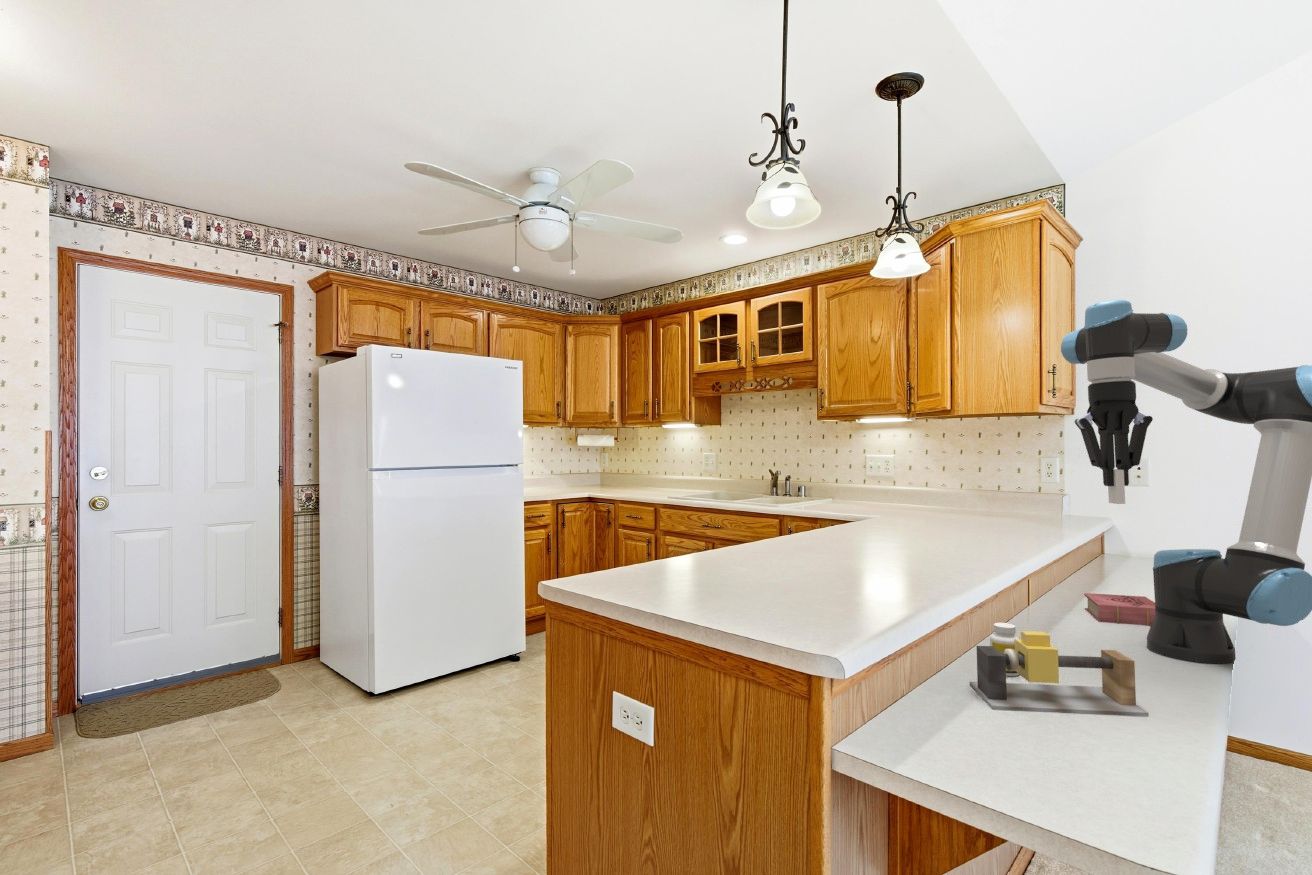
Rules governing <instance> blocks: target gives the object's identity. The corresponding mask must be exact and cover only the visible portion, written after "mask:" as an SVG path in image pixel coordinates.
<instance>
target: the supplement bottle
mask: <svg viewBox="0 0 1312 875" xmlns="http://www.w3.org/2000/svg"><path fill="white" fill-rule="evenodd" d="M1016 629H1017V628H1016V625H1014V624H1012V623H1007V622H995V623H993V632H994V633H992V634H990V637H989V646H994V647H995V648H996V649H997V650H998V651H1000V652H1001V653H1002V654H1004V650H1005V649H1014V650H1015V643H1014V639H1020V638H1019V637H1018V636H1017V635H1015V634H1016V633H1017V632H1016ZM1019 676H1021V675H1020V674H1019V673H1017V672H1016V671H1013V670H1008V669H1007V668H1006V677H1019Z"/></svg>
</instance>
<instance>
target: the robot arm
mask: <svg viewBox="0 0 1312 875" xmlns="http://www.w3.org/2000/svg"><path fill="white" fill-rule="evenodd" d="M1187 337H1188V326H1187V322H1186V321H1185V320H1184V319H1183V318H1182V317H1180V316H1179V315H1176V314H1172V313H1171V314H1170V313H1164V312H1159V313H1146V312H1145V313H1135V312H1134V310H1133V307H1132V303H1131V302H1130V301H1129V300H1126V299H1125V300H1124V299H1116V300H1115V299H1114V300H1106V301H1101V302H1097V303H1093V304H1090V305H1089V306H1088V307H1086V308H1085V311H1084V326H1083V327H1082V328H1079V329H1077V330H1073V331H1071V332H1069V333H1067V334H1066V335H1064V337H1063V338H1062V341H1061V343H1060V352H1061V355H1062V357H1063V358H1064V360H1065V361H1067V362H1068V363H1070V364H1073V365H1078V364H1080V365H1085V364H1086V370H1087V381H1088V382H1091V383H1090V384H1089V385H1088V386H1087V393H1088V394H1087V395H1088V396H1087V397H1088V404H1089V406H1088V409H1087V410H1086V411H1087V412H1086V414H1085V415H1084V416H1082V417H1080V418H1076V419H1075V420H1074V424H1075V425H1076V427H1077V428H1078V429H1079V431H1080V433H1081V436H1082V439H1083V442H1084V446H1085V449H1086V451H1087V455H1088V458H1089V462H1090V464H1091V466H1093V467H1097V468H1099V469H1100V470H1102V480H1103V483H1102V484H1103V486H1104V487H1108V488H1107V489H1108V491H1107V492H1108V493H1107V494H1108V504H1116V505H1125V504H1126V490H1125V489H1126V488H1125V487H1128V486H1129V484H1130V482H1129V481H1130V478H1129V475H1130V474H1129V470H1131V469H1132V468H1133V467H1137V466H1139V465H1140V463H1141V459H1142V454H1143V449H1144V446H1145V440H1146V436H1147V431H1148V428H1149V426H1150V425H1151V423H1152V422H1153V420H1154V419H1153V417H1152V415H1145V414H1143V413H1142V412H1140V409H1139V408H1138V405H1137V403H1136V400H1137V390H1136V389H1137V388H1136V386H1137V385H1136V382H1138V383H1141V384H1142V385H1145V386H1148V387H1149V388H1152V389H1155V390H1156V391H1157V390H1158V391H1160V392H1163V393H1165V394H1167V395H1169V396H1172V397H1174V398H1177V399H1180V400H1181V401H1182V403H1183V404H1184V405H1185V406H1186V407H1187V408H1188V409H1189V408H1190V409H1192V410H1194V411H1196V412H1199V413H1202V414H1205V415H1207V416H1211V417H1214V418H1217V419H1221V420H1225V421H1226V422H1227V421H1229V422H1233V423H1238V424H1244V425H1253V428H1254V429H1255V430H1257V431H1258V433H1259V434H1260V435H1261V436H1260V440H1259V444H1258V449H1257V454H1256V457H1255V458H1256V459H1255V463H1254V467H1253V468H1254V469H1253V473H1252V477H1251V481H1250V482H1251V483H1250V486H1249V491H1248V496H1247V501H1246V506H1245V509H1244V516H1243V519H1242V523H1241V529H1240V533H1239V538H1238V542H1236V543H1235V544H1233V545H1230V546H1228V547H1227V548H1226V552H1225V557H1224V558H1223V557H1222V556H1223V555H1222V554H1221V551H1220V550H1219V549H1212V548H1209V549H1208V548H1203V549H1201V548H1199V549H1198V548H1196V549H1195V548H1192V549H1191V548H1190V549H1189V548H1188V549H1185V548H1183V549H1181V548H1180V549H1163V550H1159V551H1157V552H1156V553H1155V554H1154V556H1153V567H1152V571H1153V572H1152V573H1153V574H1152V575H1153V589H1154V590H1153V591H1154V602H1155V617H1154V619H1153V622H1152V624H1151V626H1150V627H1149V629H1148V632H1147V635H1146V648H1148V650H1150V651H1152V652H1154V653H1156V654H1159V655H1163V656H1165V657H1171V658H1173V659H1178V660H1183V661H1184V660H1185V661H1190V662H1197V663H1207V664H1226V663H1227V664H1229V663H1233V662H1235V661H1236V649H1235V646H1234V643H1233V640H1232V639H1231V636H1230V635H1229V632H1228V630H1227V627H1226V625H1225V623H1224V622H1225V621H1224V615H1228V616H1232V617H1235V618H1236V617H1237V618H1241V619H1244V620H1250V621H1253V622H1255V623H1259V624H1263V625H1264V624H1265V625H1267V624H1269V625H1272V626H1273V625H1274V626H1277V627H1278V626H1279V627H1289V626H1293V625H1296V624H1298V623H1299V622H1300V621H1303V620H1305V619H1306V618H1307V617H1308V616H1309V615H1310V614H1311V612H1312V574H1310V572H1308V571H1306V570H1305V567H1306V563H1305V562H1304V560H1303V559H1302V558H1301V557H1300V556H1299V555H1298V553H1297V552H1298V547H1299V543H1300V542H1299V541H1300V536H1301V532H1302V528H1303V527H1302V526H1303V523H1304V517H1305V512H1306V509H1307V508H1306V506H1307V502H1308V498H1309V492H1310V488H1311V484H1312V365H1309V364H1308V365H1306V364H1305V365H1303V364H1302V365H1299V366H1293V367H1285V368H1284V367H1283V368H1277V369H1268V370H1259V371H1251V372H1250V371H1249V372H1239V373H1238V372H1237V373H1236V372H1235V373H1232V372H1231V373H1229V372H1222V371H1220V370H1217V369H1214V368H1208V369H1202V368H1200V367H1198V366H1195V365H1193V364H1190V363H1188V362H1186V361H1183V360H1181V359H1178V358H1176V357H1173V356H1172V355H1169V354H1166V353H1165V352H1172V351H1175V350H1177V349H1178V348H1180V347H1181V346H1182V345H1183V344H1184V342H1185V341H1186V339H1187ZM1135 381H1136V382H1135ZM1132 422H1133V426H1132V430H1131V433H1130V426H1131V423H1132ZM1093 424H1095V425H1096V427H1097V434H1098V435H1099V441H1098V437H1097V435H1096V432H1095V430H1094V429H1095V428H1094V427H1093ZM1129 434H1131V435H1130V438H1129ZM1115 468H1116V469H1115Z"/></svg>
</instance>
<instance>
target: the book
mask: <svg viewBox="0 0 1312 875" xmlns="http://www.w3.org/2000/svg"><path fill="white" fill-rule="evenodd" d="M1084 597H1085V598H1086V599H1087V607H1085V608H1084V610H1085V611H1086V612H1088V614H1090V615H1091V616H1092V617H1093V618H1094V619H1096V621H1097V622H1099V623H1110V624H1118V625H1119V624H1123V625H1124V624H1126V625H1137V626H1139V625H1140V626H1147V627H1148V626H1150V627H1151V624H1152V622H1153V619H1154V617H1155V601H1153V600H1152V599H1151V598H1148V597H1147V596H1141V595H1140V596H1139V595H1124V594H1108V593H1107V594H1106V593H1105V594H1104V593H1088V592H1084Z"/></svg>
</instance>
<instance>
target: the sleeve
mask: <svg viewBox="0 0 1312 875" xmlns="http://www.w3.org/2000/svg"><path fill="white" fill-rule="evenodd" d="M1014 643H1015V651H1016V653H1017V654H1024V657H1025V666H1019V667H1018V670H1017V671H1016V672H1017V673H1019V674H1020V675H1019V676H1021V677H1022V678H1024V679H1025V681H1027V682H1028V683H1039V684H1044V683H1045V684H1059V683H1060V677H1059V676H1060V675H1059V674H1060V673H1059V668H1060V667H1058V656H1059V650H1058V648H1056V647H1055V646H1053V645H1052V644H1051V635H1050V634H1048V633H1047V632H1045V631H1034V630H1033V631H1032V630H1031V631H1028V630H1027V631H1026V630H1025V631H1024V630H1020V638H1019V639H1014Z"/></svg>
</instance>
